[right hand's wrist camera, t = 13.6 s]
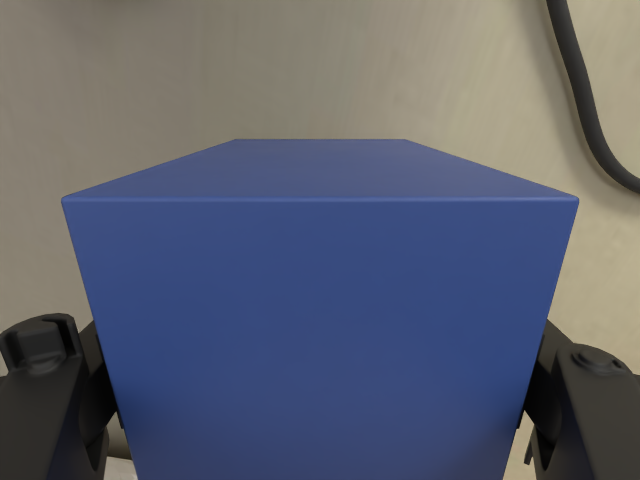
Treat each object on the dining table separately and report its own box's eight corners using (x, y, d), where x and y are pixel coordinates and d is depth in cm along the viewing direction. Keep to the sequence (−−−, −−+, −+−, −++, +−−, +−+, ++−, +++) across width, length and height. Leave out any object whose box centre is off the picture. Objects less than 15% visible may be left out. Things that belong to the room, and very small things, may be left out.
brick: (248, 308, 19) (157, 557, 8) (233, 139, 16) (56, 197, 5) (392, 308, 19) (482, 557, 8) (406, 139, 16) (583, 197, 5)
